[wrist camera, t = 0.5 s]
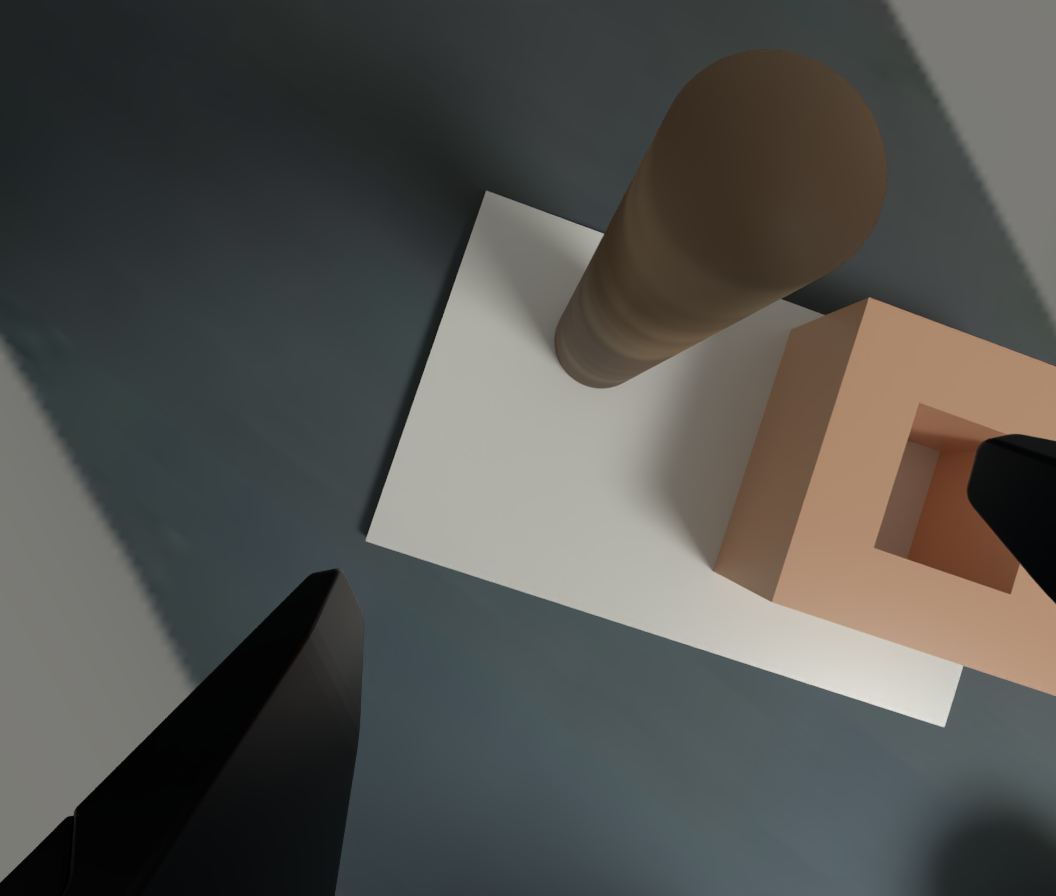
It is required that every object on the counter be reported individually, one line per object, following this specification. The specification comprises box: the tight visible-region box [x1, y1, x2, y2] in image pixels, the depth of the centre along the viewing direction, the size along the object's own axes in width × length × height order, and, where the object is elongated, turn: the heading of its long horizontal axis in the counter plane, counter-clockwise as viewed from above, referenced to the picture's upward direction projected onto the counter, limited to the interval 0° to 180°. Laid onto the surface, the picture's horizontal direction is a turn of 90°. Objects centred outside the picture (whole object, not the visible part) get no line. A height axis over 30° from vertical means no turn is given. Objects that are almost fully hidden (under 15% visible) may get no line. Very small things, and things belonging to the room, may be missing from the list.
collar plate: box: [366, 191, 1056, 727], centre depth 20 cm, size 14×24×5 cm, turn 71°
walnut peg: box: [555, 49, 887, 389], centre depth 15 cm, size 4×4×13 cm
